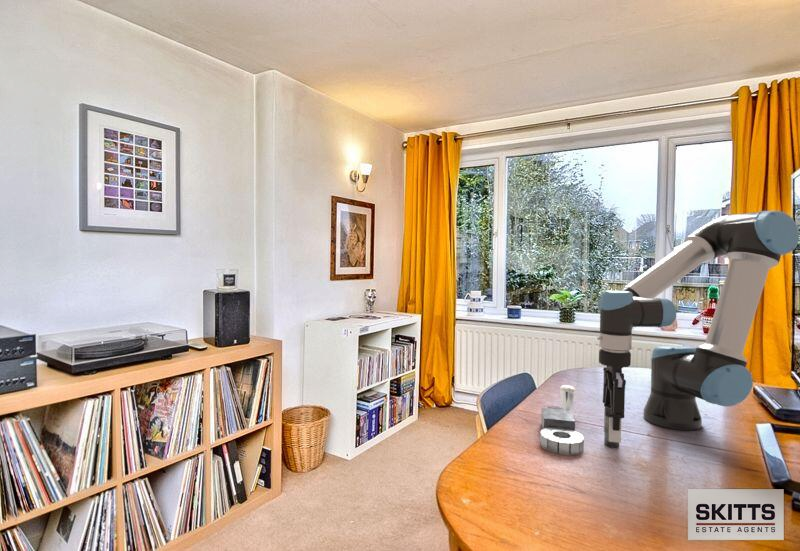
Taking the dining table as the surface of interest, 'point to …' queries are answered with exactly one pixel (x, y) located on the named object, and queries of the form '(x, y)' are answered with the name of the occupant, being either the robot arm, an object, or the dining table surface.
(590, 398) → the dining table surface
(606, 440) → the black capped grinder
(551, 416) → the grey block with disc
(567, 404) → the milkshake
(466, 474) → the dining table surface
